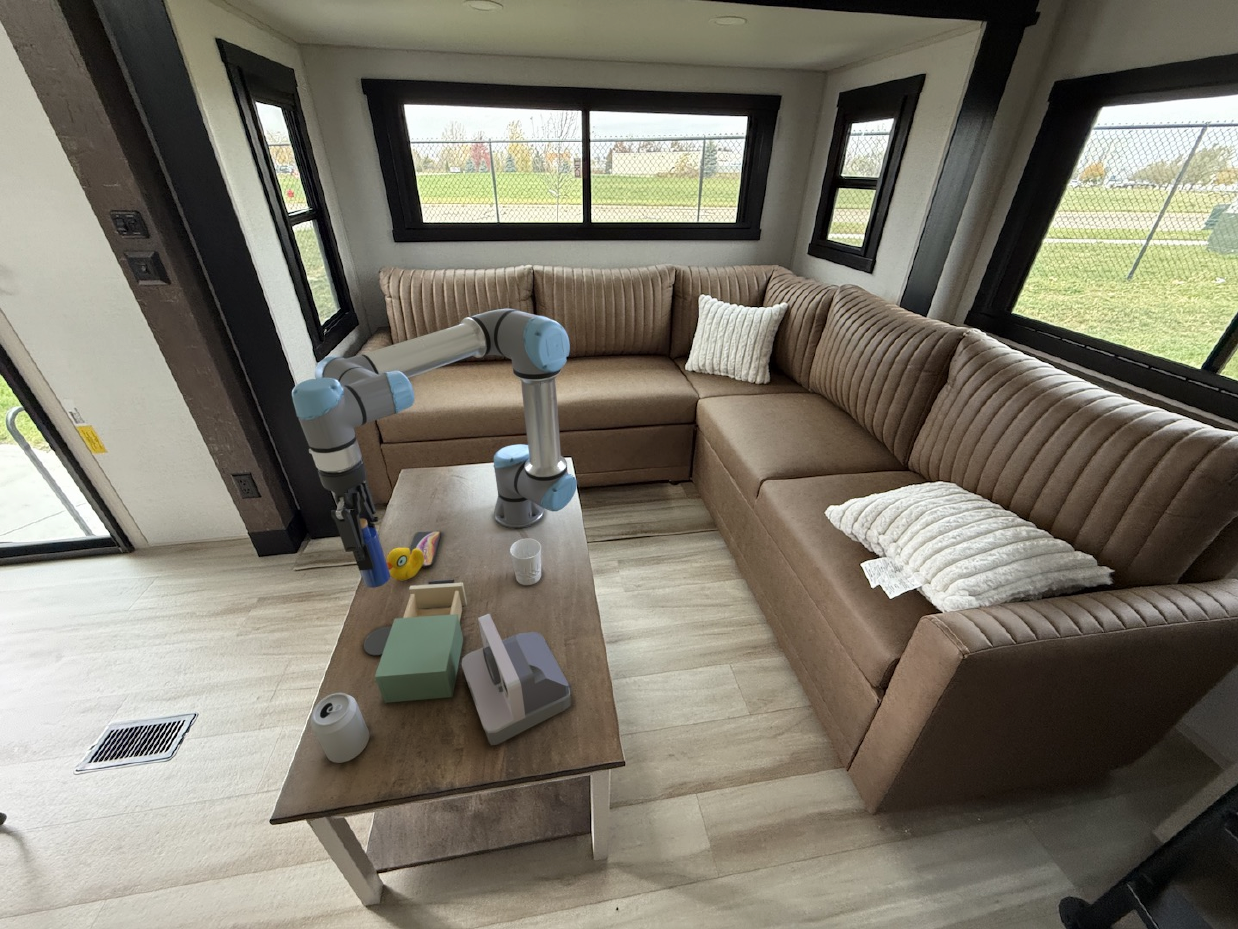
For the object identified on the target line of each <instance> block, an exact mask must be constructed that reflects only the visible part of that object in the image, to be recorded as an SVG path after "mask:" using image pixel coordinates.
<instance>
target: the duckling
mask: <svg viewBox="0 0 1238 929" xmlns="http://www.w3.org/2000/svg"><path fill="white" fill-rule="evenodd" d="M386 562H387V566H388V569H389V572H390V577H392V578H393V579H394V580H396V581H407V580H409V579H411V578H413V577H415V576H416V575H417V573H418V572H419V571H420V569H422V568H421V567H422V565H423V563H424V554H423V552H422V551H421V550H420V549H417V548H415V549H413V550H412V553H411V554H410V548H408V547H396V548H393V549H391V551H389V553H388V554H387V556H386Z"/></svg>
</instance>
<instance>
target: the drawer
mask: <svg viewBox="0 0 1238 929" xmlns="http://www.w3.org/2000/svg"><path fill="white" fill-rule="evenodd" d="M408 590H409V594H410V595H409V598H408V602H407V604H406V608H405V611H404V614H403V617H402V618H409V617H424V616H438V615H452V614H458V618H459V622H461V617H462V613H463V607H465V606H467V605H468V604H467V603H468V600H467V595H466V591H465V585H464V582H455V579H454V578H450V579H436V580H435V579H433V580H428V584H418V585H410V586H409V588H408Z"/></svg>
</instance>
